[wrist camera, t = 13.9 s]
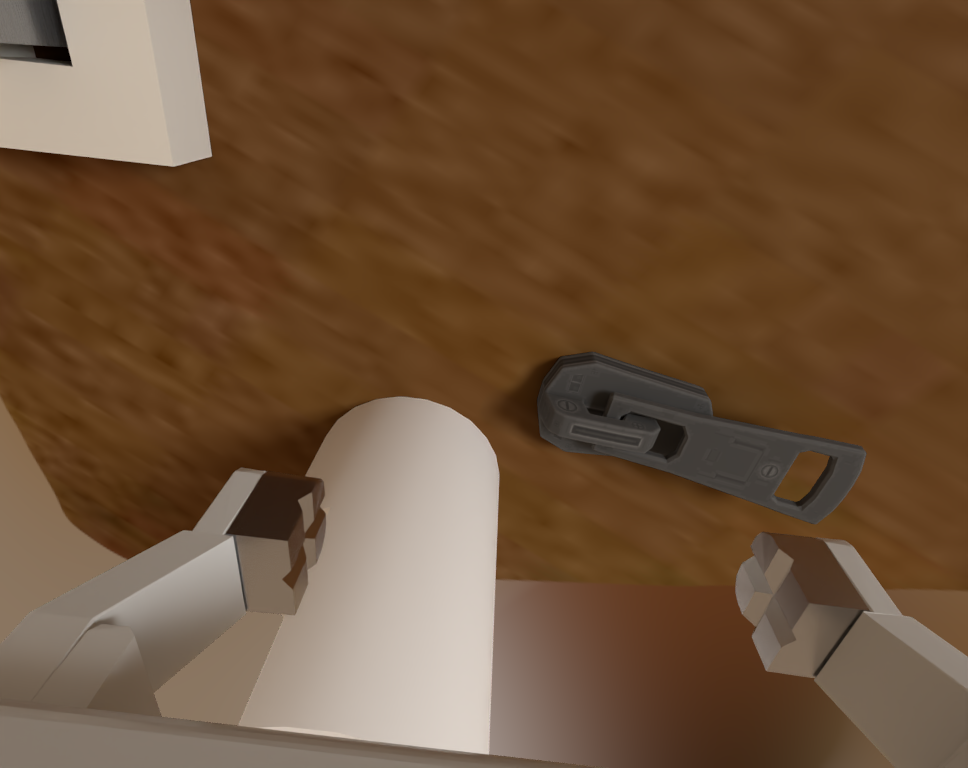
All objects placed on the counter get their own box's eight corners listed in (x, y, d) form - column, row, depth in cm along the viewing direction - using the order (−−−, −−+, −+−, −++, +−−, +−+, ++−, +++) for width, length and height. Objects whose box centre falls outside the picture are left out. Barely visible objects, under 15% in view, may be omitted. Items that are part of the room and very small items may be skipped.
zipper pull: (821, 533, 45) (528, 476, 43) (786, 481, 51) (527, 429, 49) (882, 449, 40) (559, 382, 39) (836, 402, 46) (553, 343, 45)
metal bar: (28, -32, 34) (-140, -69, 25) (92, -26, 34) (-54, -61, 25) (48, 43, 36) (-101, 33, 27) (109, 49, 36) (-21, 41, 27)
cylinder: (469, 377, 47) (420, 706, 22) (518, 522, 55) (522, 879, 30) (289, 419, 50) (75, 747, 25) (361, 550, 58) (251, 895, 33)
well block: (-114, -179, 31) (-218, -221, 26) (168, -146, 31) (111, -183, 26) (-12, 131, 39) (-79, 138, 34) (212, 156, 39) (173, 166, 34)
